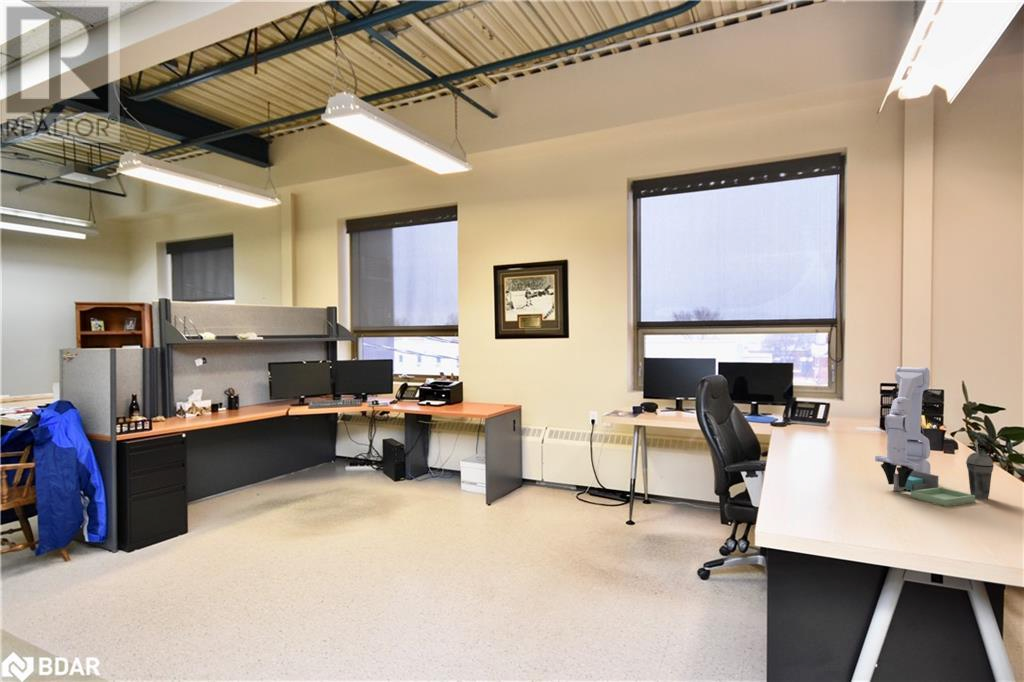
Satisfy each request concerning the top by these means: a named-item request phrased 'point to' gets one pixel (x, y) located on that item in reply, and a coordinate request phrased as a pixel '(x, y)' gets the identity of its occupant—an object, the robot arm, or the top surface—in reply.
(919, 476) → the rack
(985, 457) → the beverage cup
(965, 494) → the tray
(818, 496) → the top surface
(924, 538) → the top surface
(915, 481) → the cyan and grey piece
